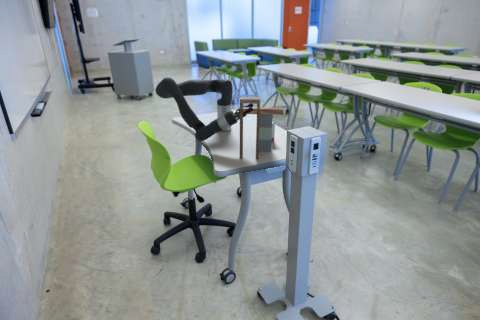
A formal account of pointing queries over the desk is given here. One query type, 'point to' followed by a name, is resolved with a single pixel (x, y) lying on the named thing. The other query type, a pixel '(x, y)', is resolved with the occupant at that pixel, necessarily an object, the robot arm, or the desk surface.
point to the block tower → (265, 132)
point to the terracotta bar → (266, 111)
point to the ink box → (273, 131)
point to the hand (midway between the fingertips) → (252, 106)
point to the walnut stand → (242, 100)
